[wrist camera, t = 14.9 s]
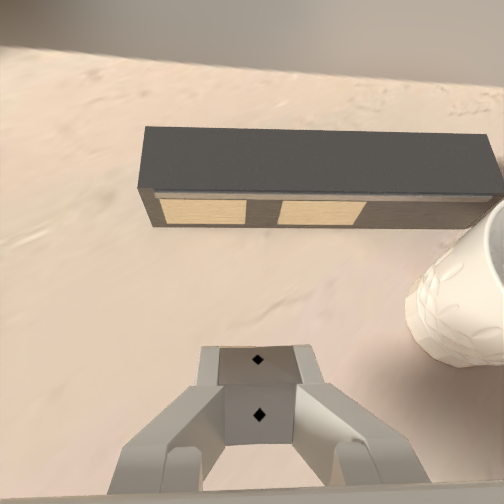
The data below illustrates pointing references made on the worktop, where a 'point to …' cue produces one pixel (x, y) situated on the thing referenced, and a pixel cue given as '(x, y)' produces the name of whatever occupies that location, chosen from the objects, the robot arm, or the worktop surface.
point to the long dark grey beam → (316, 178)
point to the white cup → (463, 299)
